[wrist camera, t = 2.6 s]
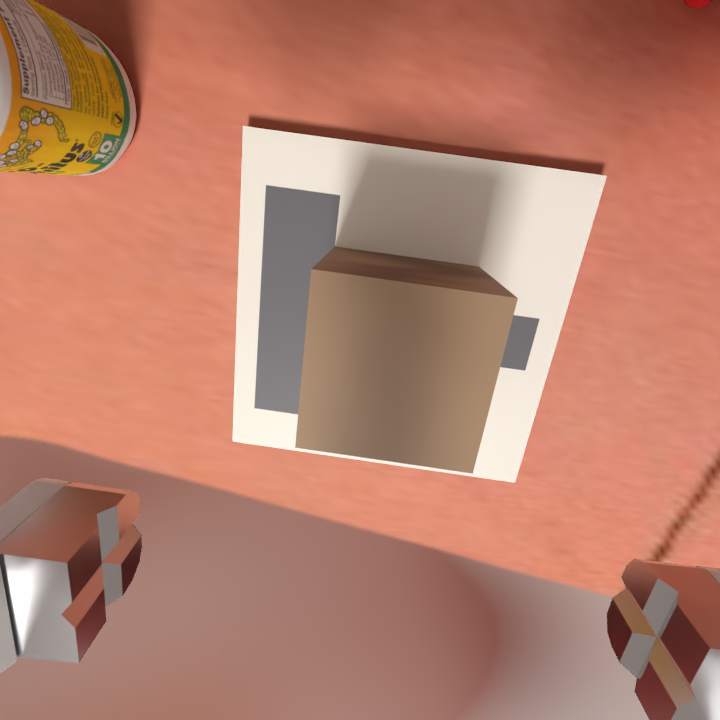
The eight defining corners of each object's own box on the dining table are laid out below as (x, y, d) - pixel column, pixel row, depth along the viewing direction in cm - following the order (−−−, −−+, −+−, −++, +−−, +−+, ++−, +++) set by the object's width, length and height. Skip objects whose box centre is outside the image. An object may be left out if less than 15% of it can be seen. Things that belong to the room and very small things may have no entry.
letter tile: (600, 176, 18) (607, 175, 17) (511, 475, 23) (515, 482, 22) (247, 128, 18) (242, 125, 17) (236, 435, 23) (232, 441, 22)
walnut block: (478, 266, 19) (517, 298, 13) (450, 397, 21) (472, 473, 15) (335, 246, 19) (311, 268, 13) (320, 378, 21) (295, 447, 15)
